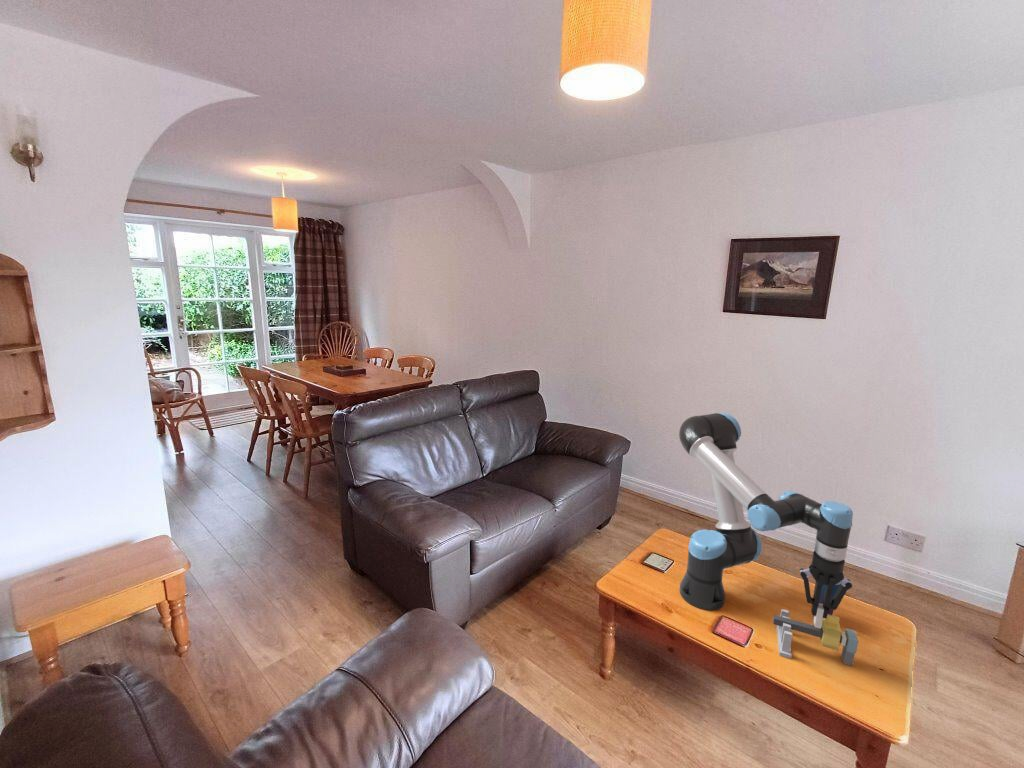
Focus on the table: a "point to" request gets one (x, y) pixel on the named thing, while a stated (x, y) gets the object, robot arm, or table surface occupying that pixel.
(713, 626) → the table surface
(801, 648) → the table surface
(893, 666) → the table surface
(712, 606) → the robot arm
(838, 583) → the cup
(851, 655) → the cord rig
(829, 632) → the sleeve
